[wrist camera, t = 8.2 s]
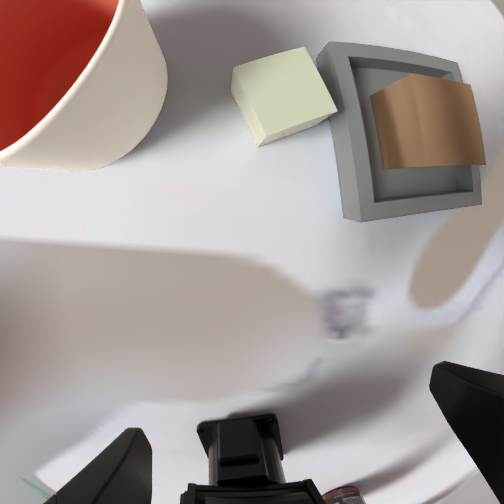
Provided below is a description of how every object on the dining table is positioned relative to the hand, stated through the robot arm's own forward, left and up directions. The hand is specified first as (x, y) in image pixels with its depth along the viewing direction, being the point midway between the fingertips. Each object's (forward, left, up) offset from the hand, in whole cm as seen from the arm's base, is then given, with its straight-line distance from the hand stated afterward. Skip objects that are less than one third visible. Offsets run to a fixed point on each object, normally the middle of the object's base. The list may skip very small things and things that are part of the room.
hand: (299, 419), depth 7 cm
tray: (+9, -12, -12) cm, 19 cm away
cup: (+14, +8, -12) cm, 20 cm away
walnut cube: (+9, -12, -11) cm, 18 cm away
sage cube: (+11, -3, -12) cm, 17 cm away
